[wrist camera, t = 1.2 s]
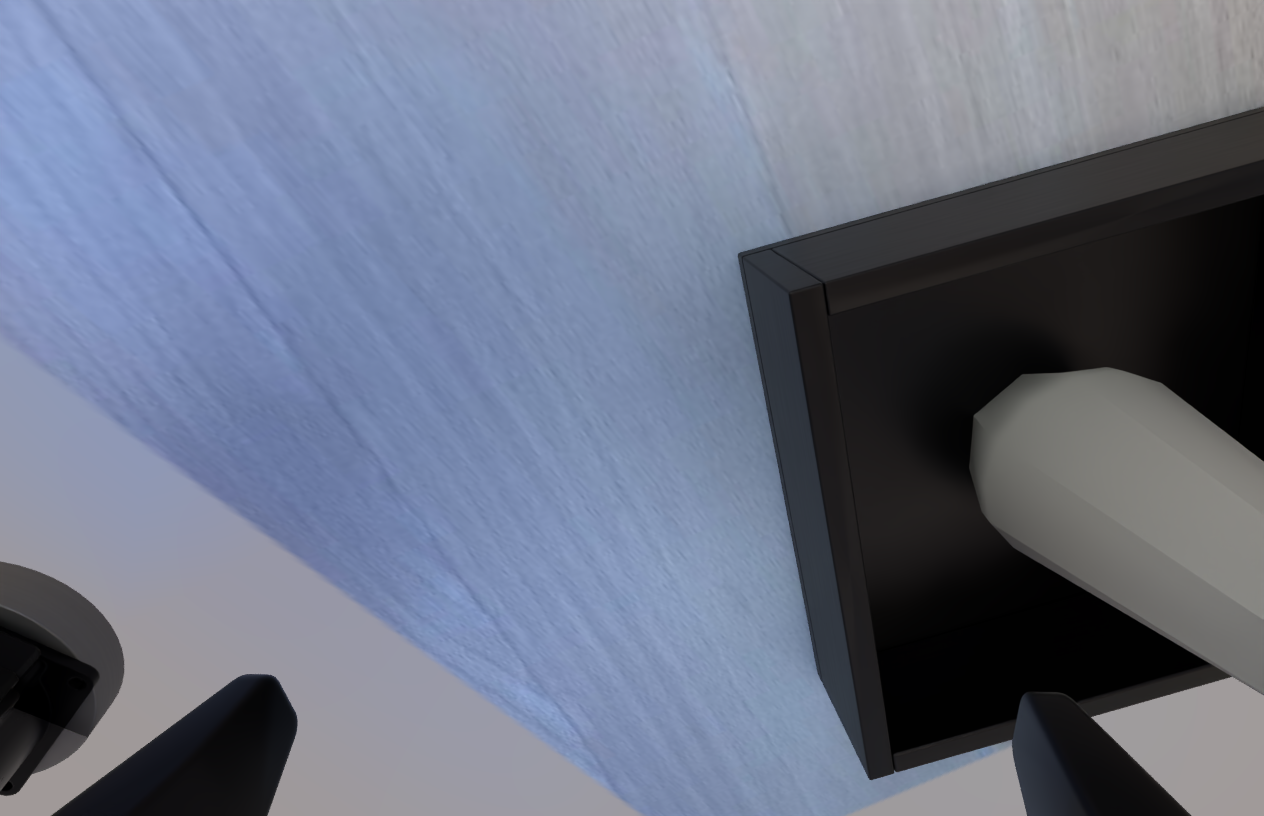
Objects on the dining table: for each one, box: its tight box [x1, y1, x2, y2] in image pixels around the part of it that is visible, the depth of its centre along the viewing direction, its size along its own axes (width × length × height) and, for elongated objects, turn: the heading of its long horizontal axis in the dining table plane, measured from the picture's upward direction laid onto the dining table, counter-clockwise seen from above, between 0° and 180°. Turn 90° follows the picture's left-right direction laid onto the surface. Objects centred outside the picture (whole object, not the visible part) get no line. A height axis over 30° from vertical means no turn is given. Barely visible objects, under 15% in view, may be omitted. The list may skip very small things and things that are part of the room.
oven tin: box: [738, 107, 1264, 780], centre depth 21 cm, size 16×16×4 cm
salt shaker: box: [969, 367, 1264, 695], centre depth 17 cm, size 6×6×13 cm
